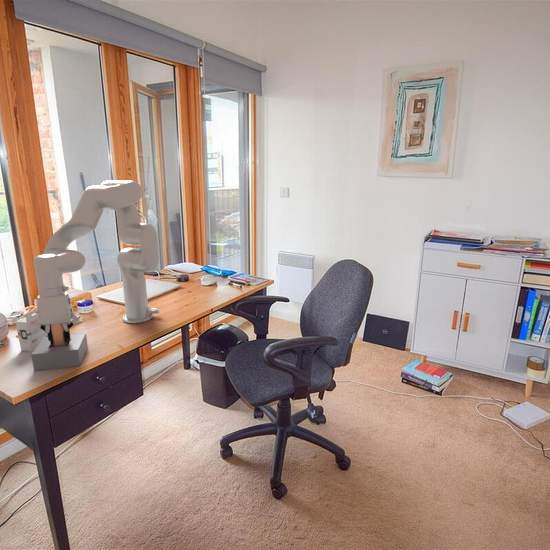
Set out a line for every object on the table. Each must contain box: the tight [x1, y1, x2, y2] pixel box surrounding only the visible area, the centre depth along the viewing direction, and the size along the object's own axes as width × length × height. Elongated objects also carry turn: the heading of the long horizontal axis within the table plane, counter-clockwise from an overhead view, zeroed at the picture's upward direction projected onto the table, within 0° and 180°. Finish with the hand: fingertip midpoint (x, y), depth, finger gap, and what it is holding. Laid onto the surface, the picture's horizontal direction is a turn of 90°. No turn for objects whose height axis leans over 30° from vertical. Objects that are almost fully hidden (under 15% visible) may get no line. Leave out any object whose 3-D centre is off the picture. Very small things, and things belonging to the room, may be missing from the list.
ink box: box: [15, 308, 48, 353], centre depth 145 cm, size 9×5×15 cm, turn 170°
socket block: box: [30, 332, 89, 372], centre depth 137 cm, size 14×14×6 cm
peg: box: [51, 323, 67, 347], centre depth 135 cm, size 4×4×13 cm
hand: (59, 341), depth 136 cm, fingers closed on peg, 3 cm apart
